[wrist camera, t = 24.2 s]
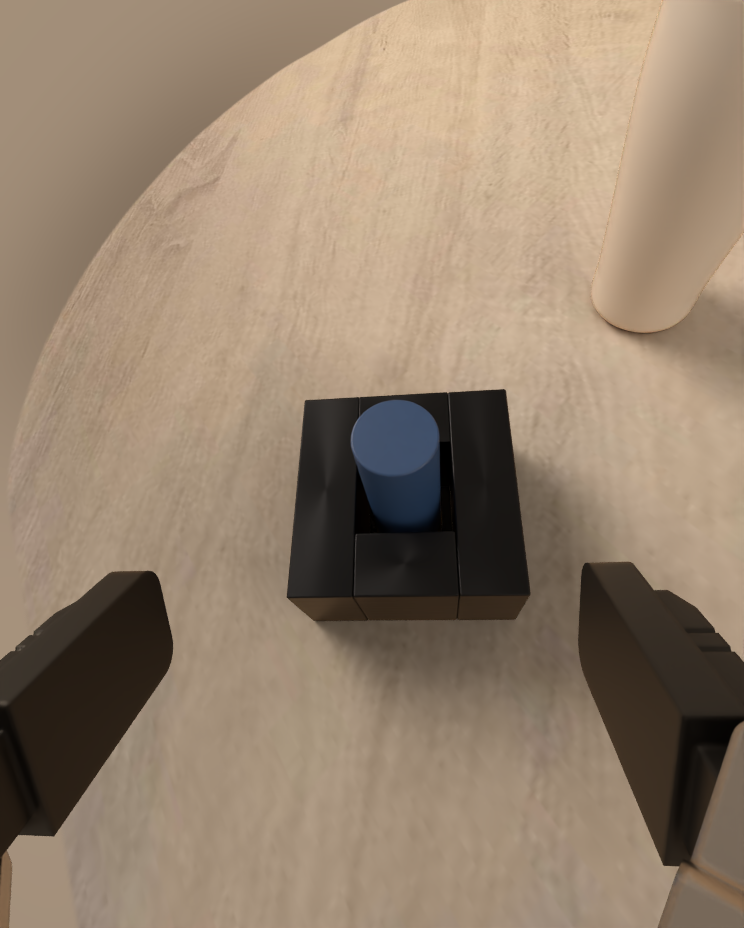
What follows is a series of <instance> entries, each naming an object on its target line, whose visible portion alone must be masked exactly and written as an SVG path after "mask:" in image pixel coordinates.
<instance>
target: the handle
mask: <svg viewBox="0 0 744 928" xmlns="http://www.w3.org/2000/svg"><path fill="white" fill-rule="evenodd" d="M351 449H352V452H353V455H354V458H355V461H356V464H357V468H358V471H359V474H360V477H361V480H362V483H363V486H364V489H365V492H366V495H367V498H368V501H369V504H370V507H371V510H372V513H373V516H374V519H375V524H376V528H377V531H378V533H398V532H436V531H442V512H441V492H440V445H439V429H438V426H437V423H436V421H435V419H434V418H433V417H432V415H431V414H430V413H429V412H428V411H427V410H425V409H424V408H423V407H421V406H420V405H418V404H415V403H413V402H410V401H405V400H390V401H385V402H381V403H378V404H376V405H374V406H372V407H370V408H369V409H367V410H366V411H365V412H364V413H363V414H362V415H361V416H360V417H359V418H358V420H357V421H356V423H355V425H354V427H353V430H352V433H351Z"/></svg>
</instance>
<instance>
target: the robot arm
mask: <svg viewBox="0 0 744 928" xmlns="http://www.w3.org/2000/svg"><path fill="white" fill-rule="evenodd" d="M578 646H579V655H580V661H581V666H582V670H583V673H584V676H585V679H586V681H587V684H588V686H589V688H590V691H591V693H592V696H593V698H594V700H595V703H596V705H597V708H598V710H599V712H600V715H601V717H602V719H603V722H604V724H605V727H606V729H607V731H608V734H609V736H610V739H611V741H612V743H613V746H614V748H615V751H616V753H617V755H618V758H619V760H620V763H621V765H622V767H623V770H624V772H625V775H626V777H627V779H628V782H629V784H630V786H631V789H632V791H633V794H634V796H635V798H636V801H637V803H638V806H639V808H640V810H641V813H642V815H643V818H644V820H645V822H646V825H647V827H648V830H649V832H650V834H651V837H652V839H653V841H654V844H655V846H656V849H657V851H658V853H659V856H660V858H661V861H662V863H663V865H664V866H679V869H678V871H677V874H676V876H675V879H674V882H673V884H672V887H671V890H670V893H669V896H668V899H667V902H666V905H665V908H664V911H663V913H662V916H661V919H660V922H659V925H658V928H744V662H743V661H742V660H741V658H740V657H739V656H738V655H737V654H736V653H735V652H731V649H730V646H729V645H728V643H727V642H726V641H725V640H724V639H723V638H722V637H721V635H720V634H719V633H715V629H714V627H713V626H712V625H711V624H710V623H709V622H708V620H707V619H706V618H705V617H704V616H703V615H702V614H701V612H700V611H699V610H698V609H697V608H696V607H695V606H693V605H691V604H690V603H688V602H686V601H685V600H683V599H681V598H680V597H678V596H677V595H675V594H673V593H672V592H670V591H668V590H653V588H652V587H651V586H650V585H649V583H648V582H647V581H646V579H645V578H644V577H643V576H642V574H641V573H640V572H639V570H638V569H637V568H636V567H635V565H634V564H633V563H631V562H600V563H585V564H584V566H583V569H582V575H581V593H580V613H579V634H578ZM172 654H173V639H172V634H171V630H170V625H169V621H168V616H167V612H166V607H165V603H164V599H163V594H162V590H161V585H160V581H159V579H158V577H157V575H156V574H155V573H154V572H152V571H119V572H111V573H109V574H108V575H106V576H105V577H104V578H103V579H102V580H101V581H99V582H98V583H97V584H96V585H95V586H94V587H93V588H91V589H90V590H89V591H88V592H87V593H86V594H85V595H83V596H82V597H81V598H80V599H79V600H78V601H76V602H75V603H73V604H71V605H69V606H67V607H66V608H64V609H62V610H60V611H58V612H57V613H55V614H54V615H53V616H51V617H50V618H49V619H48V620H47V621H46V622H44V623H43V624H42V625H41V626H40V627H39V628H37V629H36V630H35V631H34V634H33V635H29V636H28V637H27V638H26V639H25V640H23V641H22V642H21V643H20V644H19V645H18V646H16V650H15V651H11V652H10V653H8V654H7V655H6V656H5V657H4V658H2V659H1V660H0V928H9V917H10V899H11V880H12V862H11V859H10V857H9V854H8V852H7V849H8V847H9V846H10V845H11V844H12V842H13V841H14V840H15V838H16V837H17V836H18V835H34V836H55V834H56V833H57V831H58V830H59V828H60V827H61V826H62V824H63V823H64V821H65V820H66V818H67V817H68V815H69V814H70V812H71V811H72V810H73V808H74V807H75V805H76V804H77V802H78V801H79V799H80V798H81V796H82V795H83V794H84V792H85V791H86V789H87V788H88V786H89V785H90V783H91V782H92V781H93V779H94V778H95V776H96V775H97V773H98V772H99V770H100V769H101V767H102V766H103V765H104V763H105V762H106V760H107V759H108V757H109V756H110V754H111V753H112V751H113V750H114V749H115V747H116V746H117V744H118V743H119V741H120V740H121V738H122V737H123V735H124V734H125V733H126V731H127V730H128V728H129V727H130V725H131V724H132V722H133V721H134V719H135V718H136V717H137V715H138V714H139V712H140V711H141V709H142V708H143V706H144V705H145V703H146V702H147V701H148V699H149V698H150V696H151V695H152V693H153V692H154V690H155V689H156V687H157V686H158V685H159V683H160V682H161V680H162V679H163V677H164V676H165V674H166V673H167V671H168V669H169V666H170V663H171V660H172Z"/></svg>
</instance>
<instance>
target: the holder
mask: <svg viewBox="0 0 744 928" xmlns="http://www.w3.org/2000/svg"><path fill="white" fill-rule="evenodd" d="M390 400H405V401H410V402H413V403H415V404H418V405H420V406H421V407H423V408H424V409H425V410H427V411H428V412H429V413H430V414H431V415H432V417H433V418H434V419H435V421H436V423H437V426H438V429H439V445H440V487H443V486H450V501H451V518H452V531H436V532H398V533H370V504H369V501H368V498H367V495H366V492H365V489H364V486H363V483H362V480H361V477H360V474H359V471H358V468H357V464H356V461H355V458H354V455H353V452H352V449H351V433H352V430H353V427H354V425H355V423H356V421H357V420H358V418H359V417H360V416H361V415H362V414H363V413H364V412H365V411H366V410H367V409H369V408H370V407H372V406H374V405H376V404H378V403H381V402H385V401H390ZM529 596H530V585H529V577H528V569H527V561H526V552H525V544H524V536H523V528H522V520H521V511H520V503H519V495H518V487H517V478H516V470H515V462H514V454H513V446H512V437H511V429H510V421H509V413H508V404H507V396H506V390H505V389H501V390H483V391H466V392H449V393H447V392H443V393H426V394H408V395H391V396H373V397H360V398H359V397H356V398H339V399H321V400H306V401H305V405H304V416H303V427H302V438H301V449H300V460H299V471H298V481H297V492H296V503H295V514H294V525H293V536H292V546H291V557H290V568H289V579H288V590H287V598H288V599H289V600H290V601H291V602H292V603H294V604H295V605H296V606H297V607H298V608H299V609H301V610H302V611H303V612H304V613H305V614H306V615H308V616H309V617H310V618H311V619H312V620H313V621H367V620H368V619H369V620H456V619H458V620H514V619H516V617H517V616H518V614H519V612H520V611H521V609H522V607H523V606H524V604H525V602H526V601H527V599H528V598H529Z"/></svg>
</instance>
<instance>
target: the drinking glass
mask: <svg viewBox="0 0 744 928" xmlns="http://www.w3.org/2000/svg"><path fill="white" fill-rule="evenodd" d="M743 233H744V0H662V2H661V5H660V9H659V12H658V15H657V18H656V21H655V24H654V27H653V30H652V34H651V37H650V40H649V44H648V47H647V50H646V54H645V57H644V61H643V64H642V68H641V72H640V76H639V80H638V83H637V88H636V92H635V96H634V100H633V105H632V109H631V114H630V118H629V123H628V128H627V132H626V137H625V142H624V147H623V151H622V156H621V161H620V166H619V170H618V175H617V180H616V185H615V189H614V194H613V199H612V203H611V208H610V213H609V217H608V222H607V226H606V231H605V236H604V240H603V245H602V249H601V253H600V258H599V262H598V265H597V268H596V271H595V274H594V277H593V280H592V285H591V299H592V303H593V305H594V307H595V309H596V311H597V312H598V313H599V314H600V316H601V317H602V318H604V319H605V320H606V321H607V322H609V323H610V324H612V325H614V326H616V327H618V328H621V329H624V330H627V331H631V332H639V333H650V332H657V331H662V330H665V329H668V328H670V327H672V326H674V325H676V324H678V323H679V322H680V321H682V320H683V319H684V318H685V317H686V316H687V315H688V314H689V312H690V311H691V310H692V308H693V306H694V305H695V303H696V301H697V299H698V298H699V296H700V294H701V293H702V291H703V289H704V288H705V286H706V285H707V283H708V282H709V281H710V279H711V278H712V276H713V275H714V273H715V272H716V271H717V269H718V268H719V266H720V265H721V264H722V262H723V261H724V259H725V258H726V257H727V255H728V254H729V252H730V251H731V250H732V248H733V247H734V245H735V244H736V243H737V241H738V240H739V238H740V237H741V236H742V234H743Z"/></svg>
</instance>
